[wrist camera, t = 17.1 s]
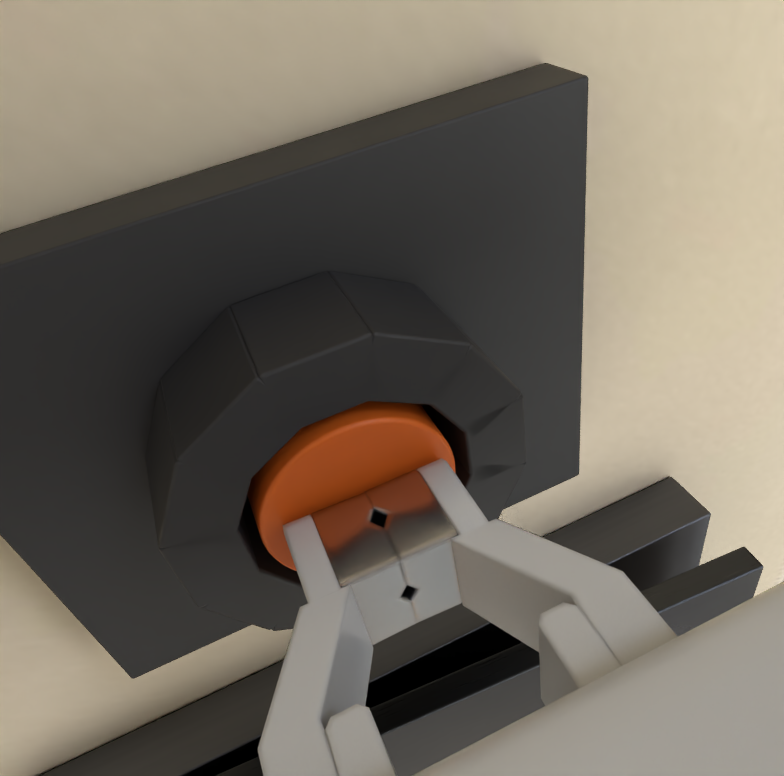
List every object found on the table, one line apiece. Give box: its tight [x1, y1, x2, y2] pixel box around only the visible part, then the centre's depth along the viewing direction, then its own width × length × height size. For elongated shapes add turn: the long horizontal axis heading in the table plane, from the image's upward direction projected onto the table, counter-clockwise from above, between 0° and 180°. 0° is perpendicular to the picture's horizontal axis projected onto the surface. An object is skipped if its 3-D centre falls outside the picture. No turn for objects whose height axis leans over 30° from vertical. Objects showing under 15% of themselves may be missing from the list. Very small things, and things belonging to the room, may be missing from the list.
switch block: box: [0, 63, 588, 678], centre depth 12 cm, size 12×10×4 cm
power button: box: [247, 401, 456, 571], centre depth 12 cm, size 4×4×2 cm
